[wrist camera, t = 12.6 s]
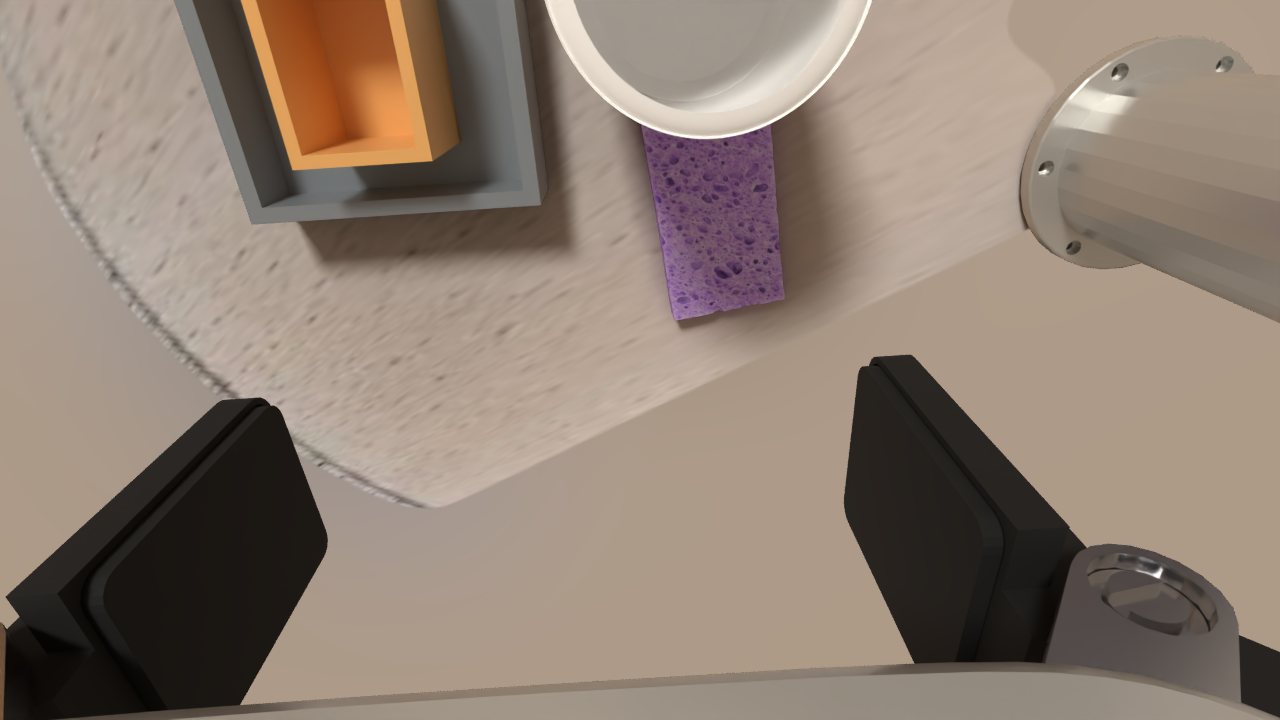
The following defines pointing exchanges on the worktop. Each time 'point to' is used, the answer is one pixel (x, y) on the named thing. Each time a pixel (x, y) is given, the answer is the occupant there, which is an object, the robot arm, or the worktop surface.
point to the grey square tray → (457, 180)
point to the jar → (706, 57)
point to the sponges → (716, 220)
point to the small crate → (356, 80)
